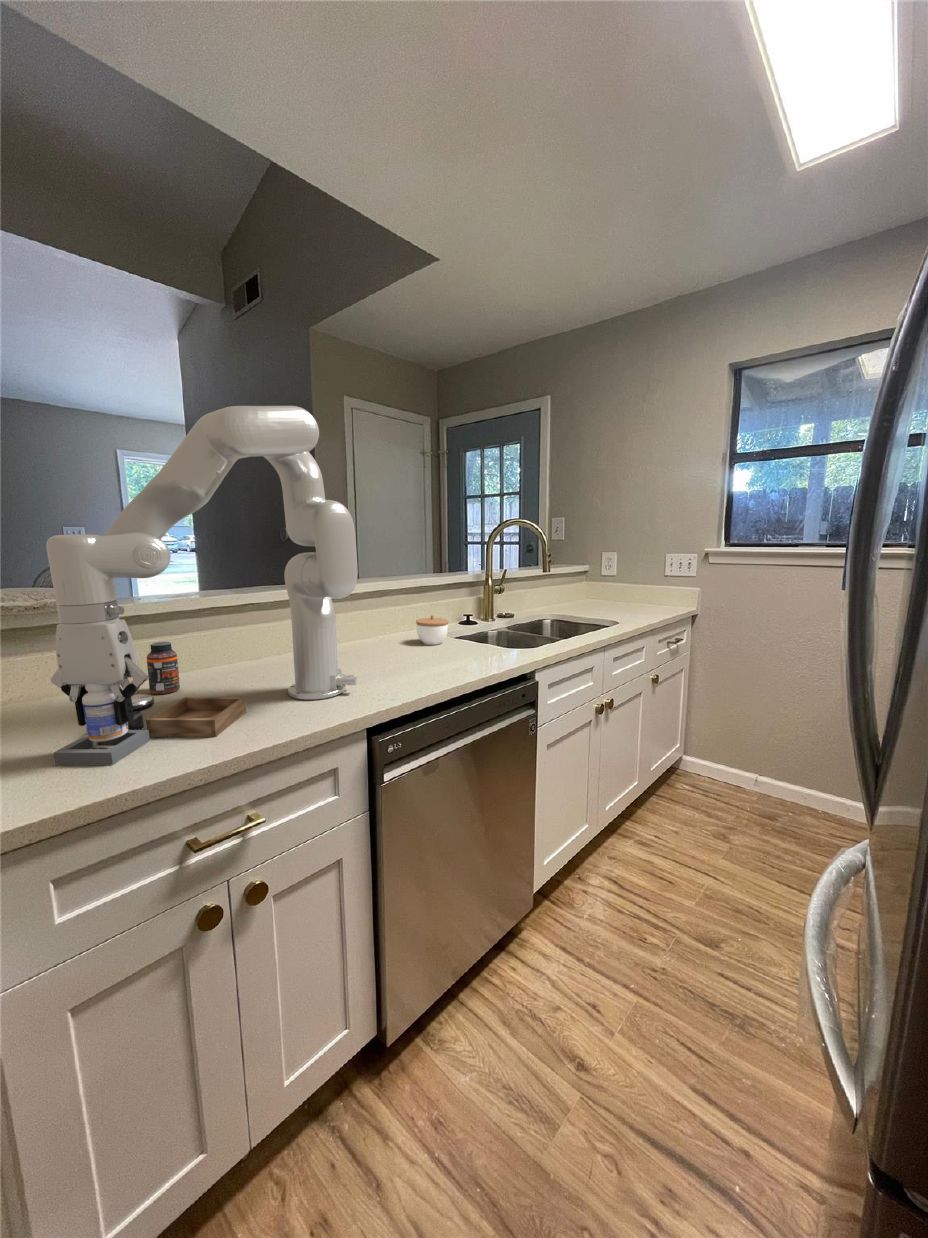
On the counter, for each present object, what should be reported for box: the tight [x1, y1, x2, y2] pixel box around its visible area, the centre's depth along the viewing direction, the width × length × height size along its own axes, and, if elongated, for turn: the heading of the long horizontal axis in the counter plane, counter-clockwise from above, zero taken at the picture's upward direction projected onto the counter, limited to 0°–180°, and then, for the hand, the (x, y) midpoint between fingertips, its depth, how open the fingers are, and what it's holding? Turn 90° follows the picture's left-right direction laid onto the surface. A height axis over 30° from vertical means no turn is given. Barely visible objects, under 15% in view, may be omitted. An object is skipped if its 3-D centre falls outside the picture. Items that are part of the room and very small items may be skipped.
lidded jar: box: [415, 614, 449, 646], centre depth 162 cm, size 11×11×9 cm
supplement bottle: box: [146, 641, 181, 695], centre depth 111 cm, size 6×6×11 cm
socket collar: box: [53, 729, 151, 766], centre depth 80 cm, size 9×9×2 cm
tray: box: [145, 696, 247, 738], centre depth 92 cm, size 12×12×3 cm
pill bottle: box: [82, 684, 128, 742], centre depth 79 cm, size 5×5×10 cm
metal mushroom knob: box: [127, 693, 155, 730], centre depth 90 cm, size 6×6×6 cm
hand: (106, 721), depth 80 cm, fingers closed on pill bottle, 5 cm apart
